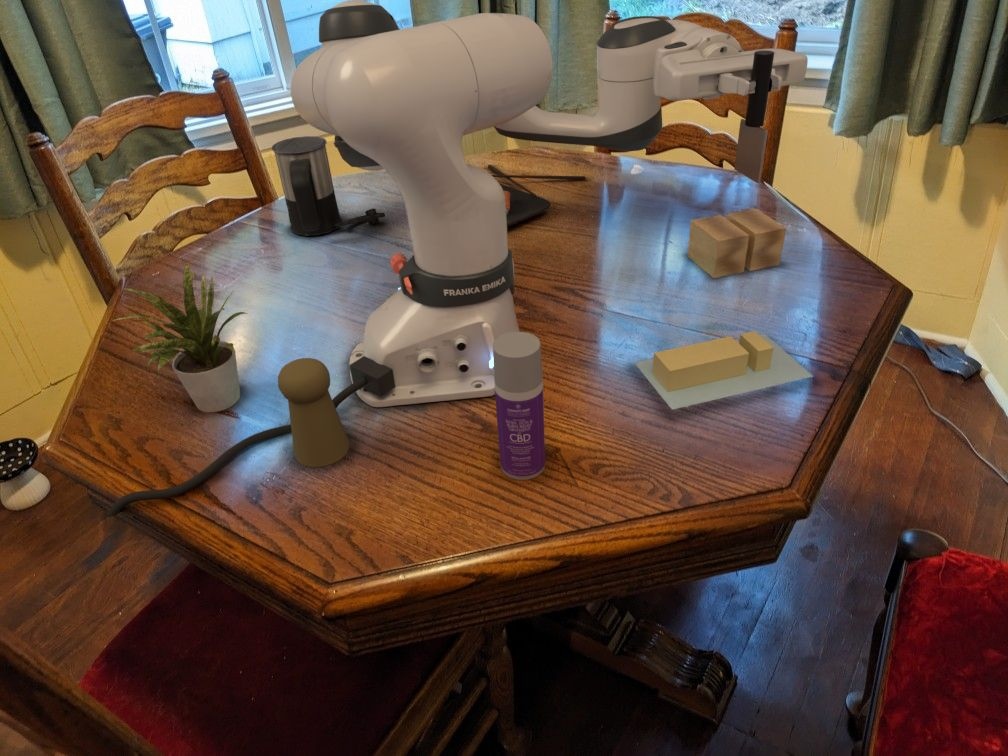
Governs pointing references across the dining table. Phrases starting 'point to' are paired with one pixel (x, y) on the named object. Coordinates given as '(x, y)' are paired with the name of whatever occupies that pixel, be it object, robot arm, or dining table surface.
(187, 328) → the house plant
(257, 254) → the dining table surface
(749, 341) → the butter pat
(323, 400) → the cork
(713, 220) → the knife block
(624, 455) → the dining table surface
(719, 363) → the butter stick
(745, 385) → the butter dish
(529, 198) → the sushi plate
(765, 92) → the knife
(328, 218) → the milk frother
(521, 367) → the container
